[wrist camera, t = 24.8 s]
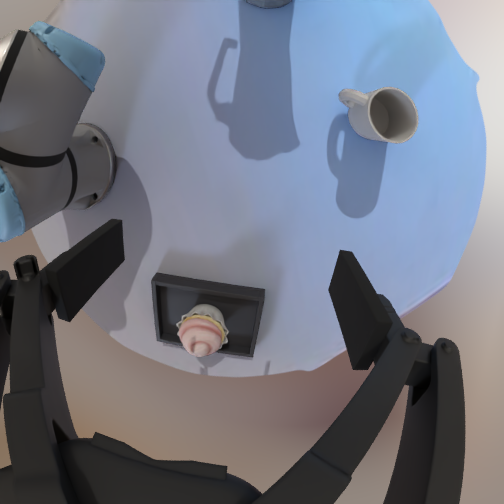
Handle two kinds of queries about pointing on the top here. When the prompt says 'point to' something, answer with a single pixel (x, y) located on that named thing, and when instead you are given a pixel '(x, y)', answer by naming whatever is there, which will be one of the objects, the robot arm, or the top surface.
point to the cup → (381, 114)
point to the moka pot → (268, 3)
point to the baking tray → (213, 293)
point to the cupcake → (202, 330)
